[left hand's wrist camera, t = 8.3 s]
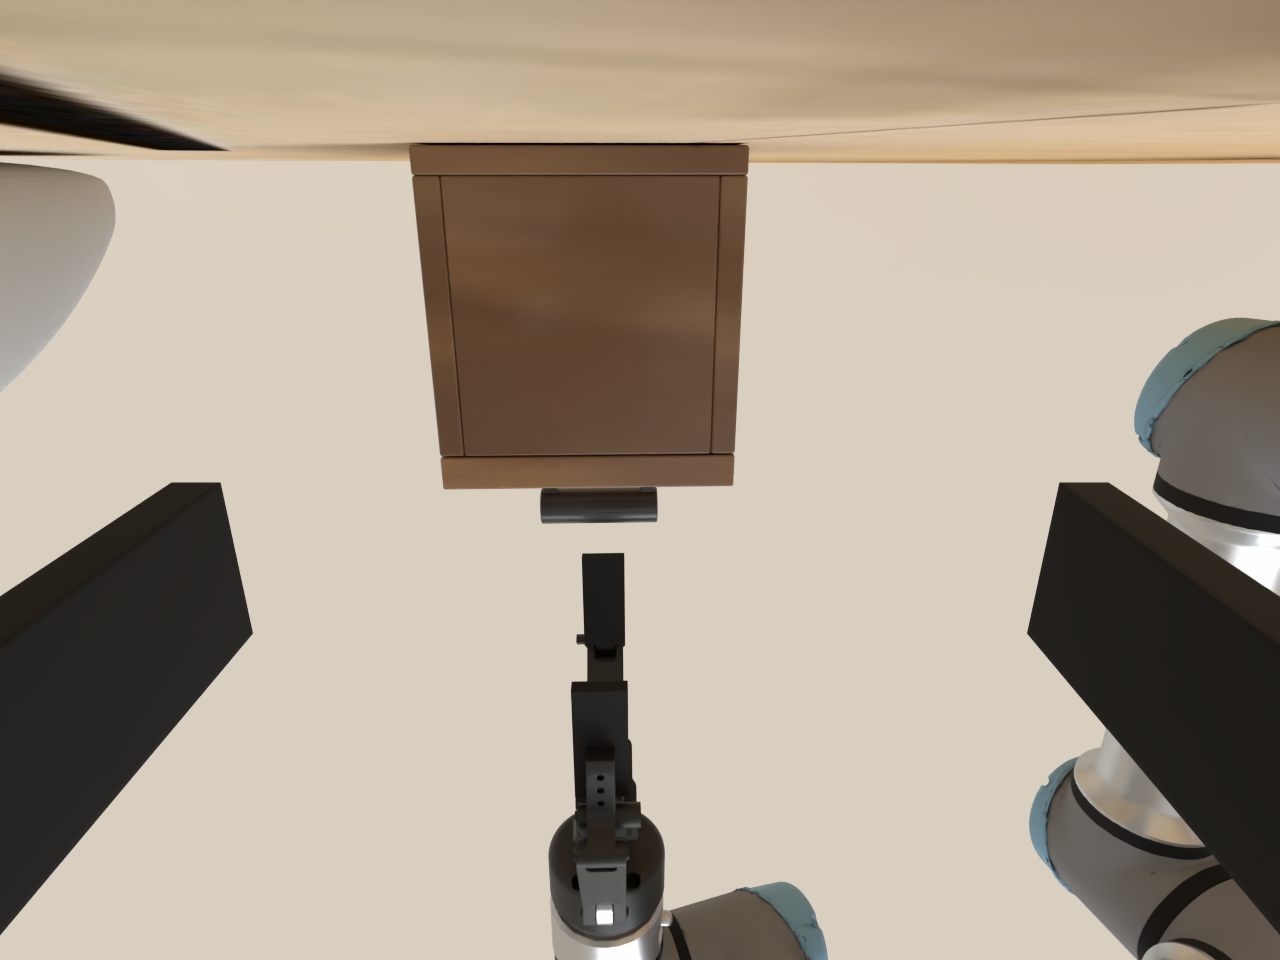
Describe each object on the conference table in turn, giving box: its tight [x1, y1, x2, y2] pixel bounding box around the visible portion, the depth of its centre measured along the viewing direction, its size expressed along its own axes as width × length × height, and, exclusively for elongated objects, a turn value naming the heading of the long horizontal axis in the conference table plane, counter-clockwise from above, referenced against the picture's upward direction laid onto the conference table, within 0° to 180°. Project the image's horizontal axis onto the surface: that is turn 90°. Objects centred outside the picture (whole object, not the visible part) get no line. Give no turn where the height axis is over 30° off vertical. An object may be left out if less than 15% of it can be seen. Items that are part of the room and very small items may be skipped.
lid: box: [441, 451, 734, 524], centre depth 35 cm, size 16×10×8 cm, turn 178°
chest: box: [409, 145, 749, 456], centre depth 32 cm, size 16×10×10 cm, turn 178°
